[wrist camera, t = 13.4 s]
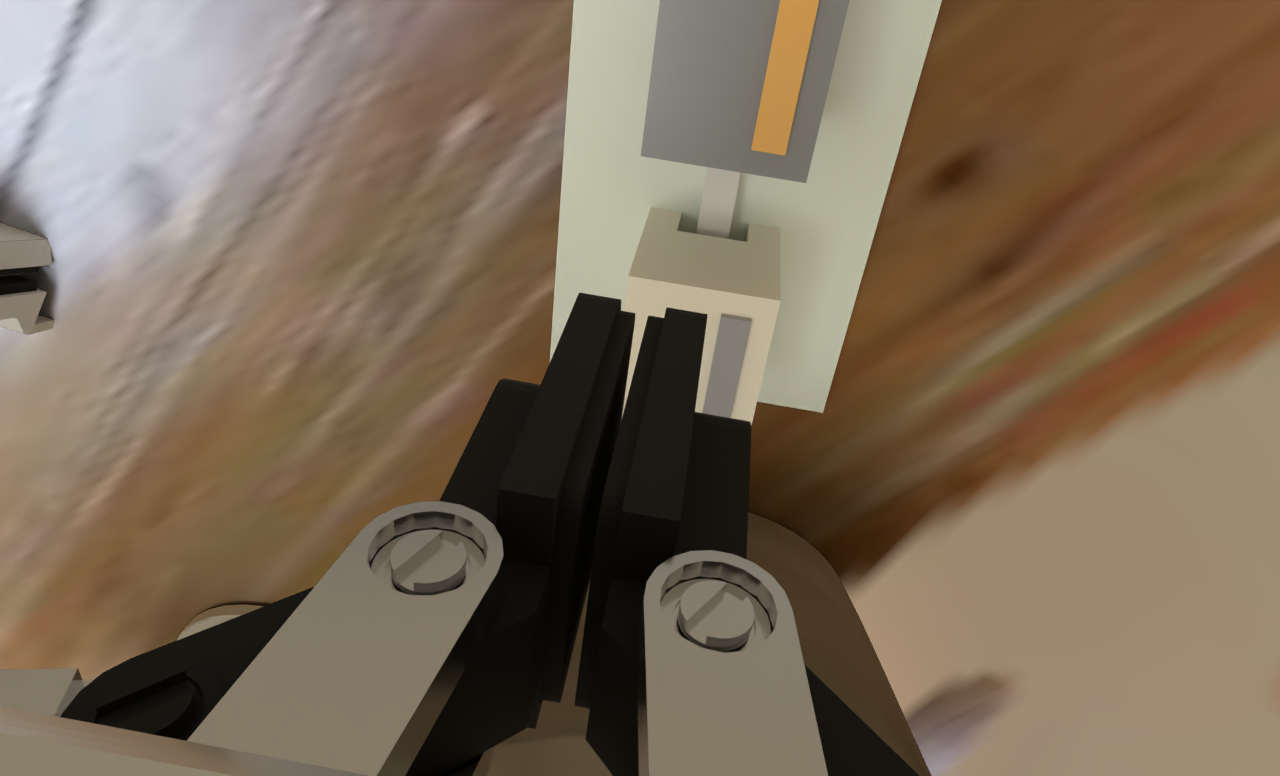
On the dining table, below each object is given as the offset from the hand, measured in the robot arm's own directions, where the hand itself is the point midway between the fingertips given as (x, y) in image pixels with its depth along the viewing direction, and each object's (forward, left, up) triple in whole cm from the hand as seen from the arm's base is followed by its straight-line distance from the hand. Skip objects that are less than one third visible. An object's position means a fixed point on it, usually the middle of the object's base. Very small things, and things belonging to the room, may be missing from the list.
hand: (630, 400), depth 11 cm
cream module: (-9, -1, -22) cm, 24 cm away
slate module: (+1, -1, -22) cm, 22 cm away
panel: (-4, -1, -23) cm, 23 cm away
